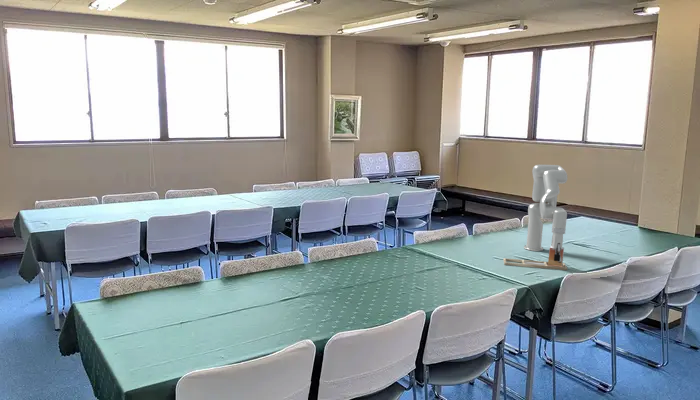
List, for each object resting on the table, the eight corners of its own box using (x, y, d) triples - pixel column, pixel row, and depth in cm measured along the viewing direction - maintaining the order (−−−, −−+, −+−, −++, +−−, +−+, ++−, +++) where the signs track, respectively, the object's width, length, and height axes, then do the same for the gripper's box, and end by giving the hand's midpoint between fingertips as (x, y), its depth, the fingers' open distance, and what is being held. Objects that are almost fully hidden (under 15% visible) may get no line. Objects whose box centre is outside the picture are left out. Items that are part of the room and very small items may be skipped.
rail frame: (503, 260, 330) (503, 258, 330) (564, 265, 323) (564, 263, 323) (504, 264, 321) (504, 262, 321) (567, 270, 313) (567, 267, 313)
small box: (547, 264, 318) (549, 247, 317) (548, 262, 323) (550, 245, 322) (561, 266, 315) (563, 249, 313) (562, 264, 320) (564, 247, 318)
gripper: (549, 226, 325) (547, 255, 328) (554, 233, 308) (551, 262, 311) (562, 227, 323) (560, 256, 326) (567, 234, 306) (564, 263, 310)
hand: (555, 259), depth 319 cm, fingers closed on small box, 6 cm apart
